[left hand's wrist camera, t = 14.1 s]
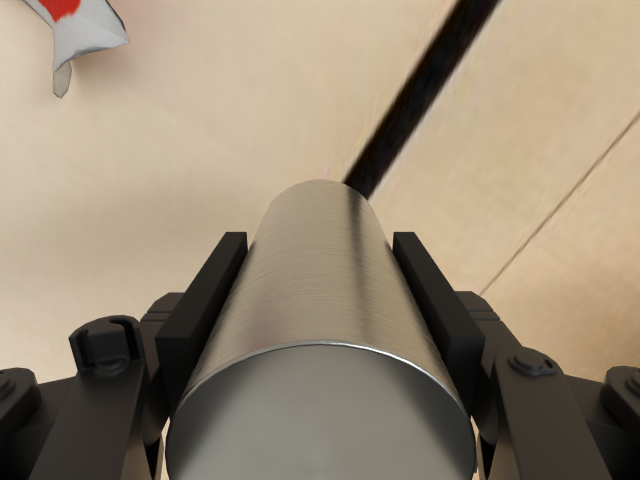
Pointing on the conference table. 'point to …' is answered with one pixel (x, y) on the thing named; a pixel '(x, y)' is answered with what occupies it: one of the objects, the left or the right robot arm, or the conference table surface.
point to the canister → (320, 361)
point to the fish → (78, 32)
